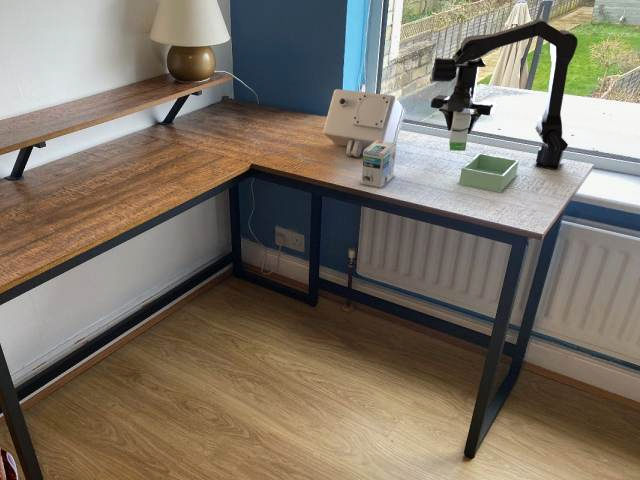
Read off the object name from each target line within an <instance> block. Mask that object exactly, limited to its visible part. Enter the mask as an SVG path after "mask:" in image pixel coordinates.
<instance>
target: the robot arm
mask: <svg viewBox="0 0 640 480" xmlns="http://www.w3.org/2000/svg"><path fill="white" fill-rule="evenodd" d="M535 37H539V38H541V39H543V40H544V41H546V42H548V43H549V45H550V46H549V47H550V57H551V58H550V60H551V70H550V77H549V82H548V88H547V97H546V104H545V108H544V109H545V110H544V112H543V114H542V116H537V118H536V126H535V128H534V130H535V131H536V132H537V135H538V136H539V138H540V139H541V141H542V145H541V147H540V148H539V149H538V151H537V156H536V160H535V162H536V163H535V166H536V167H539V168H546V169H551V170H558V169H559V168H560V167H561V165H562V164H563V162H562V160H563V155H564V152H565V150H566V149H567V147H568V146H569V144H568V142H567V141H566V140H565V139H564V138H563V122H562V115H561V112H562V106H563V101H564V95H565V88H566V82H567V75H568V69H569V65H570V63H571V61H572V60H573V58H574V56H575V53H576V50H577V47H578V42H579V41H578V38H577V36H576V35H575V34H574V33H572V32H570V30H569V31H568V30H566V29H560V30H558V29H557V28H555V27H553V26H552V25H550V24H548V23H547V22H546V21H544V19H542V18H537V19H535V20H533V21H530V22H527V23H524V24H520V25H516V26H514V27H511V28H507V29H503V30H500V31H498V32H494V33H488V34H476V35H475V34H474V35H469V36H467V37H465V38H464V39H463V40H462V41H461V43H460V45H459V46H460V47H459V48H458V50H457V51H456V52H455V53H454V54H453V55H452V57H451V58H450V57H448V58H447V57H445V58H442V57H435V58H434V63H433V67H432V70H431V82H433V83H434V82H439V83H440V82H441V83H452V81H454V80H455V79H456V83H455V85H454V87H453V92H452V93H451V95H442V94H438V95H436V96H435V97H433V98H432V99H431V101H430V108H432V109H438V111H439V112H441V113H442V114H443V116H444V118H445V123H446V128H447V131H448V132H451V126H452V119H453V112H454V111H455V112H458V113H460V112H463V110H464V108H465V109H470V110H473V112H472V113H470V114H471V115H470V122H469V128H468V135H470V134H471V132H472V131H473V129H474V127H475V125H476V124H477V122H478V120H479V119H480V118H481V117H482V116H487V117H488V116H491V115H492V114H494V113H496V111H497V110H496V109H497V104H496V102H495V101H489V100H488V101H487V100H482V101H481V102H480V103H476V102H475V99H476V98H475V94H476V88H477V87H478V84H477V80H478V75H479V68H486V67H487V64H486V63H485V61H484V60H483V58H482V57H483V56H486V55H488V54H489V53H490V52H492V51H494V50H496V49H499V48H502V47H505V46H509V45H512V44H515V43H519V42H522V41H526V40H529V39H533V38H535Z"/></svg>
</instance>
